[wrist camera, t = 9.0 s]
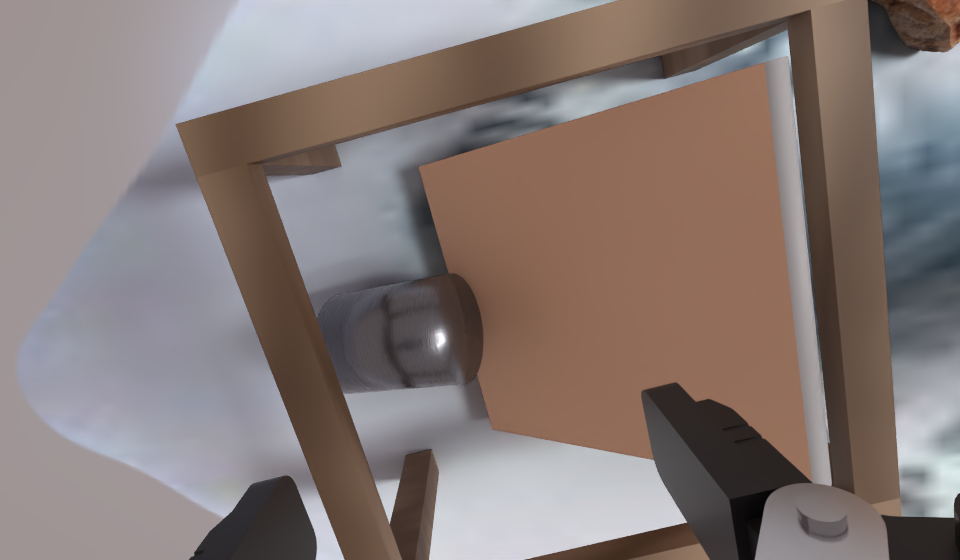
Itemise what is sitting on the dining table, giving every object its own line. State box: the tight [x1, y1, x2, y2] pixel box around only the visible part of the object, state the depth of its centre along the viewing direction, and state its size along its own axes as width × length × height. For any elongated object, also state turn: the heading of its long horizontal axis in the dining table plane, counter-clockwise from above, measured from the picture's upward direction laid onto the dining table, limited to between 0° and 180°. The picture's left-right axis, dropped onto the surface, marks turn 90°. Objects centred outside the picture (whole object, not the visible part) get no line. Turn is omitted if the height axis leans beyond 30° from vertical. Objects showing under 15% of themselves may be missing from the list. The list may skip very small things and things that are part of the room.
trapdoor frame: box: [176, 0, 901, 560], centre depth 20 cm, size 19×19×10 cm
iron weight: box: [317, 273, 483, 394], centre depth 22 cm, size 5×5×6 cm
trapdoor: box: [419, 56, 832, 486], centre depth 19 cm, size 14×14×1 cm
